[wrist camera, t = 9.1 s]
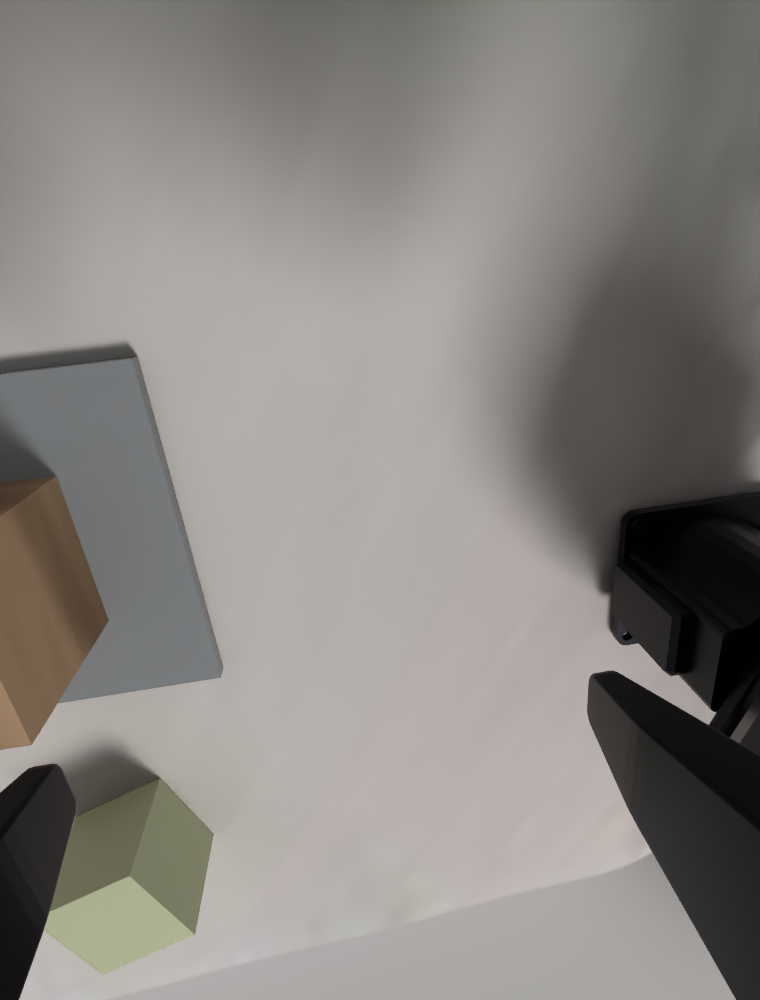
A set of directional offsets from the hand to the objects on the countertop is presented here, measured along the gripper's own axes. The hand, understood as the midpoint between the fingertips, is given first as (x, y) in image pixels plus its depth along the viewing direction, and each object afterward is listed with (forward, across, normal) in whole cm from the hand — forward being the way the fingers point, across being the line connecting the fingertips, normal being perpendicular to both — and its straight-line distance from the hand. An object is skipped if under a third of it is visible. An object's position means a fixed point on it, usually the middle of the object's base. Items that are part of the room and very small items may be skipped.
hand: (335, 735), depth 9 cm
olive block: (+12, +11, +16) cm, 23 cm away
